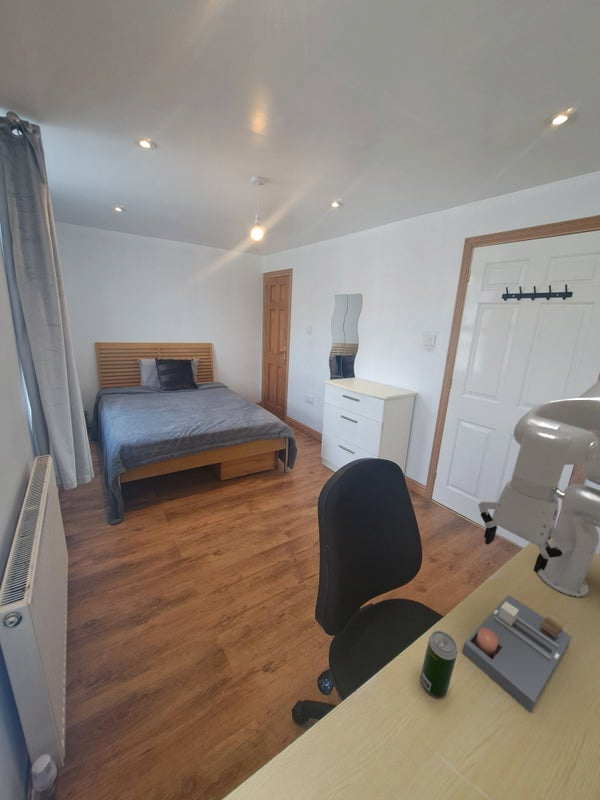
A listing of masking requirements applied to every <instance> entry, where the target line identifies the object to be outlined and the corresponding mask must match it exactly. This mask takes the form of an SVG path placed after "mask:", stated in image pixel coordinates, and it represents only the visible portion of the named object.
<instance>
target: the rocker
mask: <svg viewBox="0 0 600 800" xmlns="http://www.w3.org/2000/svg"><path fill="white" fill-rule="evenodd" d="M541 627H542V628H543V629H545V630H546V631H548V632H549V633H551V634H552V635H554V636H555V637H557V636H558V635H559V633H560V632H561V630H563V628H564V625H562V624H561V623H559V622H558V621H556V620H554V619H553V618H552V617H549V616H547V617H545V620H544V621H543V622H542V624H541Z"/></svg>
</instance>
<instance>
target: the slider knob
mask: <svg viewBox="0 0 600 800" xmlns="http://www.w3.org/2000/svg"><path fill="white" fill-rule="evenodd" d="M518 612H519V610H518V609H517V608H515V607H514V606H512V605H511V604H509V603H508V602H505V603H504V604H503V605H502V606H501V608H500V611H499V615H498V617H499V618H500V619H501V620H503V621H504V622H506V623H507V624H508V625H510V626H512V624H513V623H514V622H515V621H516V618H517V615H518Z"/></svg>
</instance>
